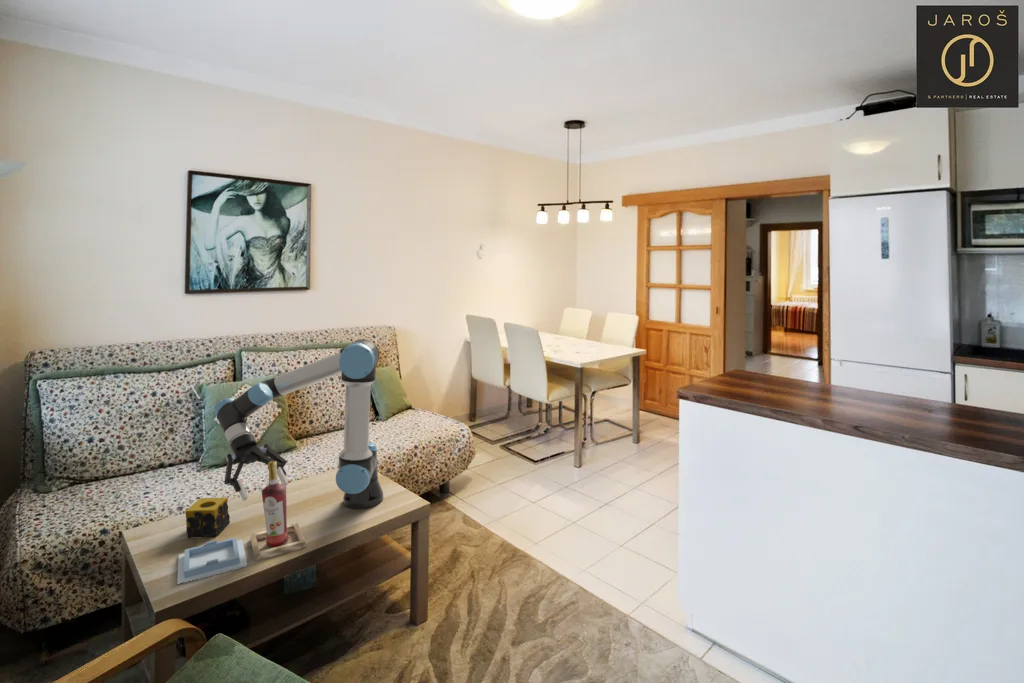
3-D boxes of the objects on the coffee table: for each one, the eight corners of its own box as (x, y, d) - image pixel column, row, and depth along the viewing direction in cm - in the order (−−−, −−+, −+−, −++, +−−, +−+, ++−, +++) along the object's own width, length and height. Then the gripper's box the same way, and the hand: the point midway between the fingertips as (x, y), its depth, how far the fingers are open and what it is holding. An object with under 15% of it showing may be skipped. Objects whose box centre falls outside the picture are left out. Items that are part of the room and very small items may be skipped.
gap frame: (298, 528, 181) (297, 522, 181) (305, 547, 169) (305, 541, 168) (250, 540, 174) (250, 534, 173) (255, 560, 161) (254, 554, 161)
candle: (201, 524, 185) (199, 497, 184) (230, 523, 186) (228, 496, 185) (186, 538, 175) (183, 510, 174) (217, 537, 176) (214, 509, 175)
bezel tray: (242, 540, 173) (241, 531, 173) (247, 566, 158) (246, 555, 158) (178, 556, 164) (177, 546, 164) (177, 585, 149) (176, 574, 148)
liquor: (293, 537, 175) (288, 458, 171) (284, 549, 168) (278, 466, 164) (271, 538, 175) (265, 458, 171) (261, 549, 168) (255, 467, 164)
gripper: (272, 436, 189) (297, 485, 182) (199, 455, 169) (223, 511, 162) (279, 424, 185) (305, 474, 178) (204, 442, 165) (230, 499, 158)
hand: (266, 491), depth 170 cm, fingers open, 13 cm apart
